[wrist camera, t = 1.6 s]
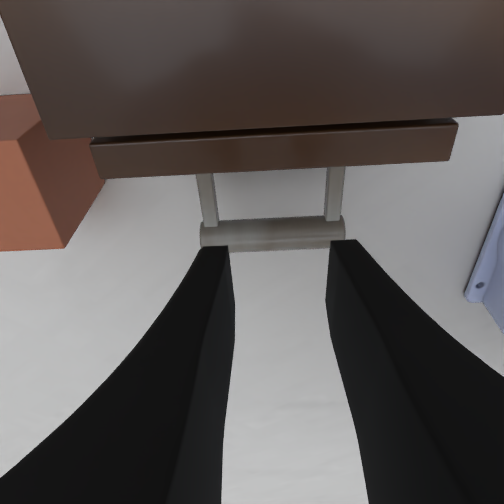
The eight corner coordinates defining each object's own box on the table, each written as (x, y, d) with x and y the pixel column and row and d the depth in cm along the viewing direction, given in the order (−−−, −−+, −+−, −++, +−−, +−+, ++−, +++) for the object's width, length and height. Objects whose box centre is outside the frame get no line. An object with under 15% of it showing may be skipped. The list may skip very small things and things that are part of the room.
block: (105, 182, 20) (65, 248, 15) (18, 187, 20) (-46, 254, 16) (76, 90, 17) (16, 140, 13) (-25, 96, 17) (-118, 147, 13)
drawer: (378, 202, 20) (417, 280, 15) (162, 213, 20) (136, 292, 15) (496, -507, 9) (781, -1031, 4) (6, -455, 9) (-251, -882, 4)
